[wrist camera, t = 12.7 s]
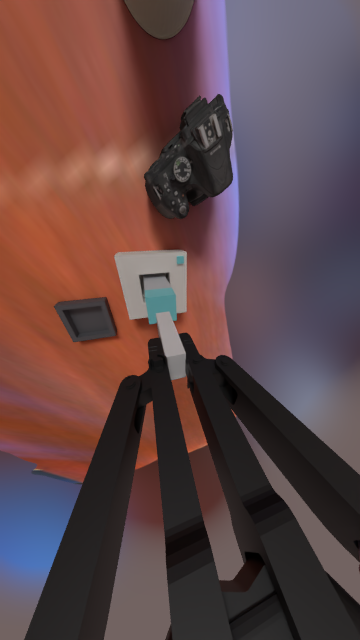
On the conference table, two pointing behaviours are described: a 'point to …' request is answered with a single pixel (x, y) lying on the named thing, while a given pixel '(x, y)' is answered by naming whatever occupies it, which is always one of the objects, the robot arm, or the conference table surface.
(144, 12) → the can
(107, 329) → the dark grey square tray
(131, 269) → the port panel
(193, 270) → the conference table surface
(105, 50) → the conference table surface
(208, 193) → the camera
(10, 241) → the conference table surface
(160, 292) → the plug
